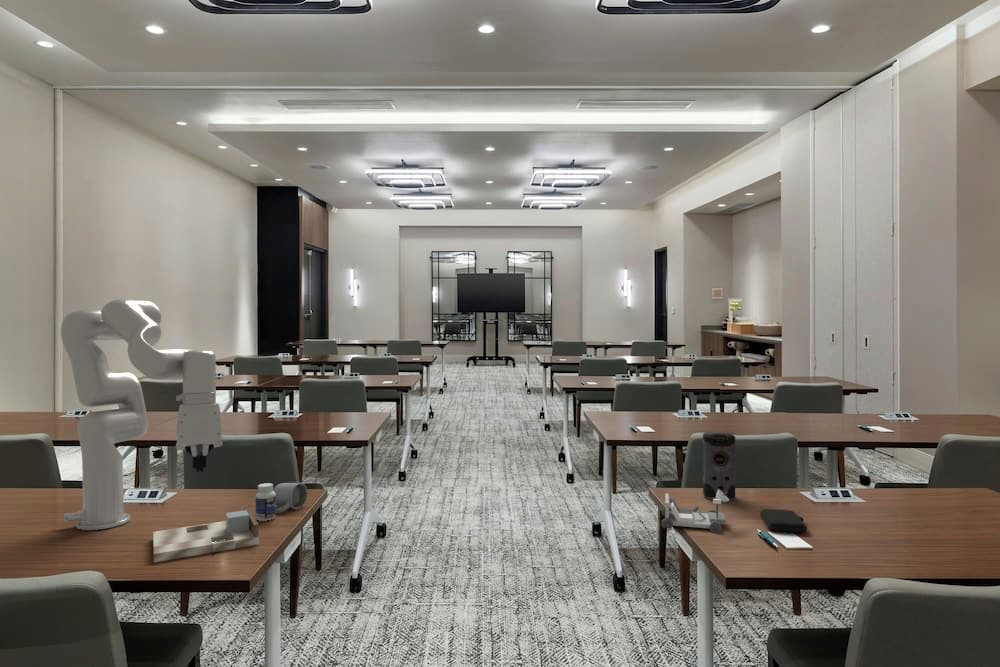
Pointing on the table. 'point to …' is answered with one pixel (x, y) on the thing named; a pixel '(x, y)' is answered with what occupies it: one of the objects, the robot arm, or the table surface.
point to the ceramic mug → (290, 496)
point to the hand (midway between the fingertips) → (199, 470)
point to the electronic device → (718, 465)
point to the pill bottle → (265, 502)
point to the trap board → (202, 539)
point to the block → (237, 521)
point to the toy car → (694, 515)
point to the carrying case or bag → (783, 521)
